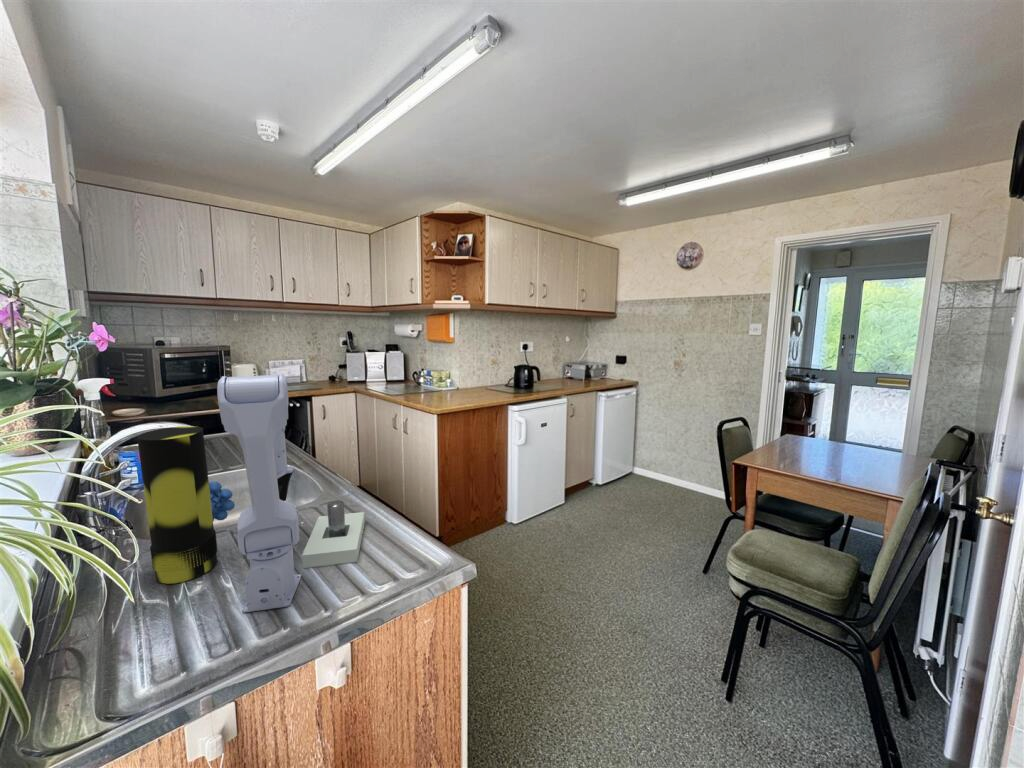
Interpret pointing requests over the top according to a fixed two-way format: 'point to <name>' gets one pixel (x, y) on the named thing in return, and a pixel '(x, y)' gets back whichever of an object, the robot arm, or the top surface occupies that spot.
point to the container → (178, 503)
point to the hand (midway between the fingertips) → (276, 507)
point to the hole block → (334, 542)
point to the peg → (336, 519)
